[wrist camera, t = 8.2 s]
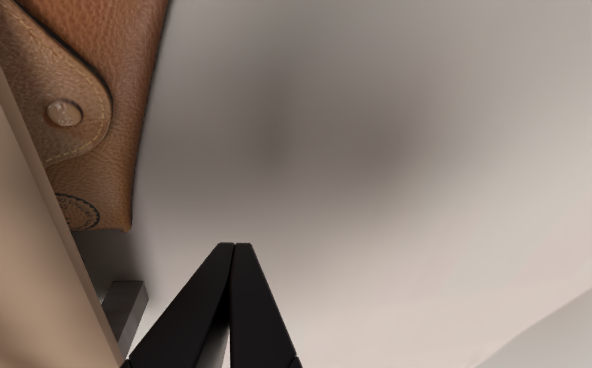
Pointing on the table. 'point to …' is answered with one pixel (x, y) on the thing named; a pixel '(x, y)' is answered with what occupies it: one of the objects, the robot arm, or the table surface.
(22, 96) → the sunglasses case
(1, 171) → the brown box
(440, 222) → the table surface
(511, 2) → the table surface
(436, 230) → the table surface
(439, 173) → the table surface
